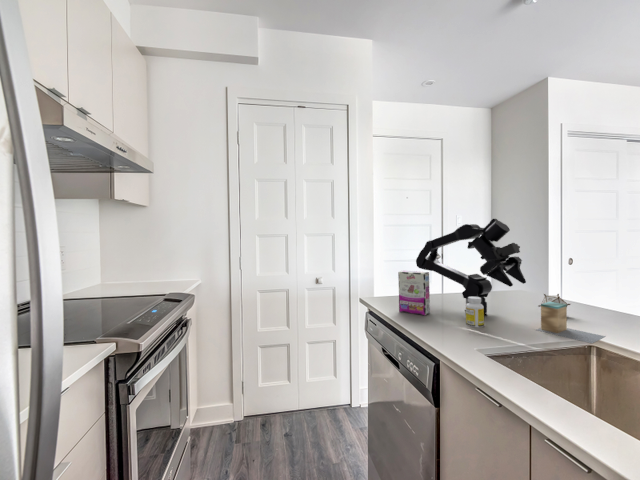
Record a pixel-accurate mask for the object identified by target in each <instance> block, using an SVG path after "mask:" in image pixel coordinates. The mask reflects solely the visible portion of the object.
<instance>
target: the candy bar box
mask: <svg viewBox="0 0 640 480" xmlns="http://www.w3.org/2000/svg"><path fill="white" fill-rule="evenodd" d="M397 278H398V311H399V312H400V313H405V314H413V315H420V316H427V315H429V314H431V306H430V305H431V300H430V296H431V295H430V272H428V271H417V270H416V271H415V270H414V271H413V270H412V271H411V270H401V271H398V277H397Z"/></svg>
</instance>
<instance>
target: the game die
mask: <svg viewBox="0 0 640 480" xmlns="http://www.w3.org/2000/svg"><path fill="white" fill-rule="evenodd" d="M543 296H544V297H543V300H542V302H541V303H540V304H539V305H538V308H541V304H544V303H547V302H555V303H561V304H567V307H568V306H571V304H572V303H567V302H566V301H565V300H564V299H562V298H561V296H560V293H557V295H546V293H543Z"/></svg>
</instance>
